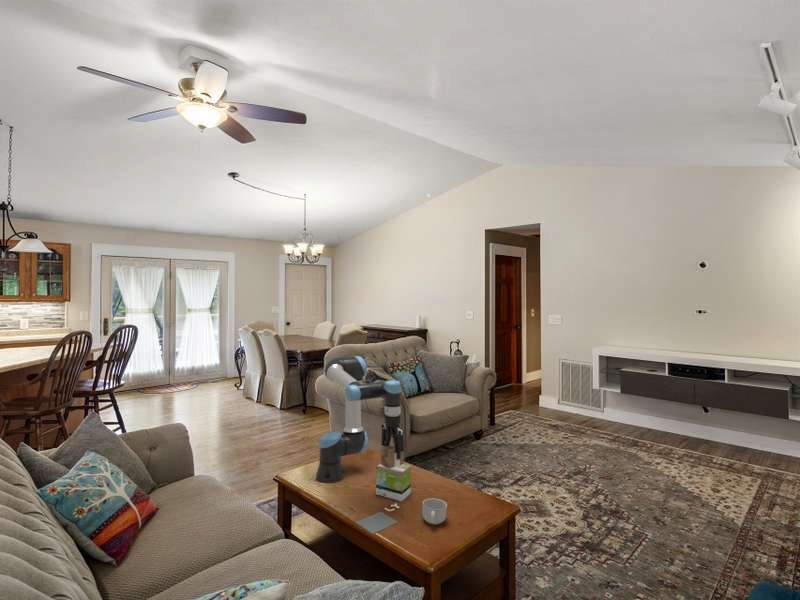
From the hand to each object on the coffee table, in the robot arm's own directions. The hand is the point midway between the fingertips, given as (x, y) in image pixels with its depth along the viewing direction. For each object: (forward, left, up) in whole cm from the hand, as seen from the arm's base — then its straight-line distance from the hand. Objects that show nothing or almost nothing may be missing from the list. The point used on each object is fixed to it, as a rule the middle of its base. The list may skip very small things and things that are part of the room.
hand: (392, 463), depth 204 cm
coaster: (+6, -14, -21) cm, 26 cm away
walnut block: (0, 0, 0) cm, 0 cm away
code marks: (0, 0, -21) cm, 21 cm away
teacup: (+22, +5, -21) cm, 31 cm away
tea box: (-10, +9, -21) cm, 25 cm away
